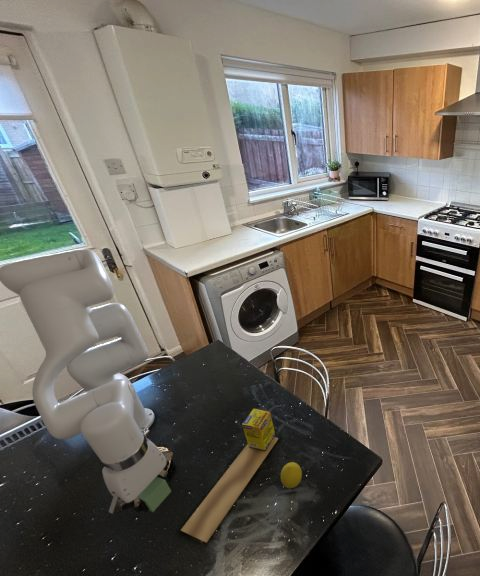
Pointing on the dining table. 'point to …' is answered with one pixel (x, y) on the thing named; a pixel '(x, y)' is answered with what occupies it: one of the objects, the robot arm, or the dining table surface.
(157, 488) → the green block
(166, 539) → the dining table surface
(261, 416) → the supplement box
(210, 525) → the wooden strip
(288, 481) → the lemon
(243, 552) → the dining table surface
